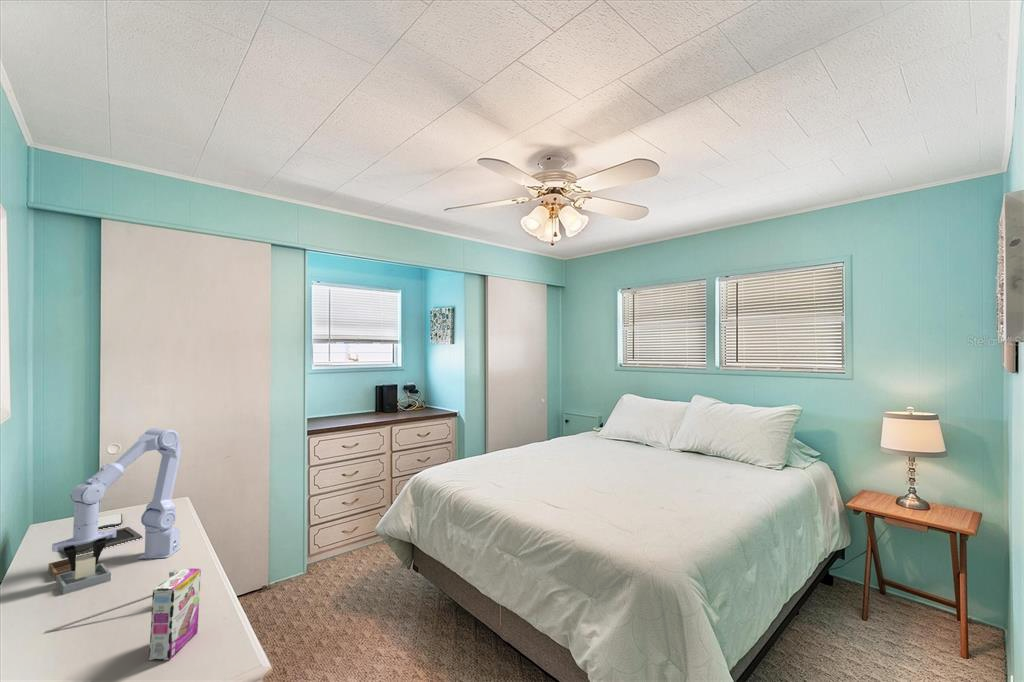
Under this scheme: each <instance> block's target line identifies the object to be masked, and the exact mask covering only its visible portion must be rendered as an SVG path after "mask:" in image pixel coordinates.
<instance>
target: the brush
mask: <svg viewBox="0 0 1024 682" xmlns="http://www.w3.org/2000/svg"><path fill="white" fill-rule="evenodd" d="M177 572H178V571H177V568H174V569H173V570H172V571H169V572H168V578H170V577H172V576H173V575H175V574H176V573H177ZM150 598H153V593H151V594H149V595H146V596H143V597H140V598H137V599H135V600H131V601H129V602H126V603H123V604H121V605H118V606H117V605H116V606H114V607H111V608H108V609H106V610H103V611H100V612H97V613H94V614H91V615H88V616H85V617H83V618H80V619H77V620H74V621H71V622H68V623H65V624H62V625H58V626H57V627H53V628H51V629H47V630H45V631H44V634H49V633H52V632H55V631H57V630H61V629H63V628H66V627H69V626H72V625H74V624H77V623H81V622H83V621H86V620H89V619H92V618H95V617H98V616H101V615H104V614H107V613H109V612H113V611H115V610H118V609H121V608H124V607H127V606H130V605H132V604H135V603H139V602H141V601H144V600H146V599H147V600H148V599H150Z"/></svg>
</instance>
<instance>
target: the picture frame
mask: <svg viewBox="0 0 1024 682" xmlns="http://www.w3.org/2000/svg"><path fill="white" fill-rule="evenodd" d="M115 530H116V537H114V538H107V539H106V540H107V543H106V545H105V547H104V549H107V548H106V547H108V548H111V547H110V546H112V547H115V546H114V545H116V546H118V545H117V544H120V545H122V544H121V543H124V544H126V543H125V542H128V541H132V540H135V541H137V540H136V539H139V540H141V539H140V538H142V539H143V536H142V534H140V533H138V532H137V531H136V530H134V528H131V527H130V526H126V527H121V528H118V529H115ZM132 542H133V541H132ZM128 543H129V542H128ZM75 547H76V550H77V552H76V555H77V556H81V555H85V554H89V553H93V552H92V551H93V542H90V543H86V544H82V545H78V546H75ZM60 552H61V554H62V555H63V556H64V557H67V555H66V554H65V552H64V550H63V549H61V551H60ZM80 554H81V555H80ZM66 559H68V557H67V558H66Z"/></svg>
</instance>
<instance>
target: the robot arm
mask: <svg viewBox="0 0 1024 682" xmlns="http://www.w3.org/2000/svg"><path fill="white" fill-rule="evenodd" d="M180 439H181V435H180V434H179V433H178V432H177V431H176V430H174V429H164V428H163V429H162V428H157V427H156V428H155V427H152V428H149V429H147V430H146V431H145V432H144V433H143V434H141V435H140V436H139V438H138V440H137V441H136V442H134V444H133V445H131V447H129V448H128V449H127V450H126V451H125V452H124V453H123V454H122V455H121V456H120V457H118V459H116V461H114V462H113V463H111V462H110V463H107V464H105V465H102V466H101V467H100V468H99V469H100V470H98V471H97V472H96V473H95V474H94V475H92V476H91V477H90V478H87V479H86V480H85V482H84V483H80V484H78V485H76V486H75V487H74V488H73V490H72V492H71V493H70V494H69V498H70V500H71V501H72V502H73V504H74V505H73V524H72V525H73V528H72V537H71V538H68V539H65V540H62V541H58V542H54V543H52V545H51V551H52V553H54V552H58V551H60V550H61V549H63V550H64V552H65V554H66V555H67V557H68V558H67V559H68V560H69V562H70V566H71V570H72V571H75V565H76V562H75V560H76V557H77V556H76V552H77V550H76V547H75V546H78V545H82V544H86V543H90V542H93V552H92V553H93V555H94V556H95V557H96V560H95V565H97V562H98V559H99V560H100V556H101V554H102V552H103V550H104V549H105V548H104V547H105V545H106V543H107V540H106V539H107V538H114V537H116V530H117V529H112V530H106V531H100V532H99V530H98V519H99V517H100V516H99V515H100V512H99V511H100V501H101V500H103V498H104V496H105V493H106V491H107V490H108V489H109V488H110V487H111V486H112V485H113V484H114V483H115V482H116V481H119V479H120V478H121V477H122V476H123V475H124V472H125V469H126V468H127V467H128V466H129V465H131V464H132V463H134V462H135V461H136V460H137V459H138V458H140V457H141V456H143V455H144V454H145V453H146V452H150V451H155V450H156V451H157V452H158V453H159V454H161V459H160V465H159V468H158V474H157V477H156V483H155V488H154V491H153V496H152V500H151V501H149V503H148V504H146V507H145V510H144V512H143V513H142V514H141V518H140V523H141V525H143V526H144V530H145V531H144V533H145V537H144V553H143V554H141V555H140V556H138V559H139V560H142V559H164V558H165V559H166V558H170V557H171V556H172V555H174V554H175V553H176V552H177V551H178V550H180V549H181V546H180V536H181V535H180V534H181V532H180V529H179V528H178V527H173V525H174V524H175V522H176V520H177V514H176V508H177V506H176V505H175V503H174V502H173V501H172V498H173V494H174V489H175V484H176V480H177V477H178V470H179V466H180V460H181V456H182V451H183V450H182V446H181V442H180ZM103 548H104V549H103Z"/></svg>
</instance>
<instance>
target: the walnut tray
mask: <svg viewBox="0 0 1024 682" xmlns="http://www.w3.org/2000/svg"><path fill="white" fill-rule="evenodd" d="M89 554H93V552H89V553H85V554H81V555H77V556H76V558H77V557H81V556H85V555H89ZM101 563H102V562H101V560H100V558H99V559H98V562H97V564H101ZM47 568H48V570H47V571H48V573H49V575H50V576H51V578H52V579H53V581H54V582H56V575H60V574H63V573H67V572H71V571H72V570H71V566H70V562H69V560H68V558H66V559H62V560H61V559H60V560H57V561H54V562H50V563H48V566H47Z"/></svg>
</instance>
